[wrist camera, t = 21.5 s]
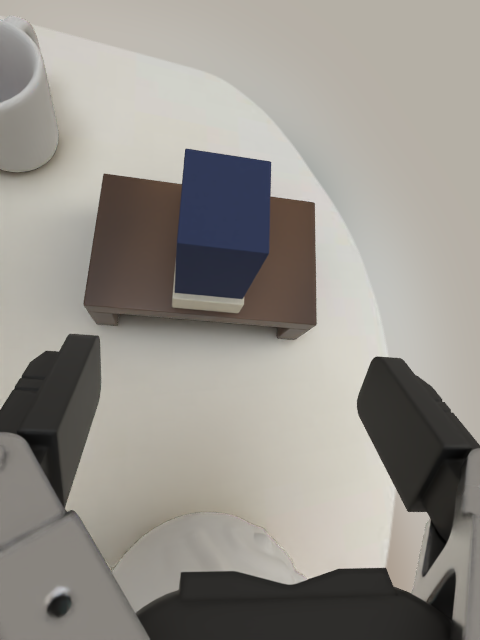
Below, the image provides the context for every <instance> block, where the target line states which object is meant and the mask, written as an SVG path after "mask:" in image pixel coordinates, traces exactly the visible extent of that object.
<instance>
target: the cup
mask: <svg viewBox="0 0 480 640" xmlns="http://www.w3.org/2000/svg"><path fill="white" fill-rule="evenodd" d="M58 139H59V134H58V125H57V120H56V116H55V111H54V107H53V102H52V98H51V93H50V88H49V84H48V79H47V75H46V70H45V65H44V61H43V58H42V55H41V53H40V47H39V43H38V39H37V36H36V33H35V31H34V29H33V27H32V25H31V24H30V23H29V22H28V21H26V20H25V19H23V18H20V17H17V16H8V17H6V18H5V19H4V20H1V19H0V169H1V170H5V171H10V172H26V171H30V170H34V169H36V168H39V167H40V166H42V165H44V164H45V163H46V162H48V161H49V160H50V159H51V157H52V156H53V155H54V153H55V151H56V148H57V145H58Z"/></svg>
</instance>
